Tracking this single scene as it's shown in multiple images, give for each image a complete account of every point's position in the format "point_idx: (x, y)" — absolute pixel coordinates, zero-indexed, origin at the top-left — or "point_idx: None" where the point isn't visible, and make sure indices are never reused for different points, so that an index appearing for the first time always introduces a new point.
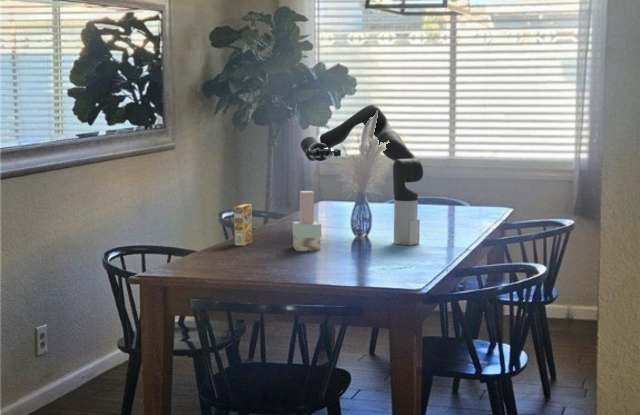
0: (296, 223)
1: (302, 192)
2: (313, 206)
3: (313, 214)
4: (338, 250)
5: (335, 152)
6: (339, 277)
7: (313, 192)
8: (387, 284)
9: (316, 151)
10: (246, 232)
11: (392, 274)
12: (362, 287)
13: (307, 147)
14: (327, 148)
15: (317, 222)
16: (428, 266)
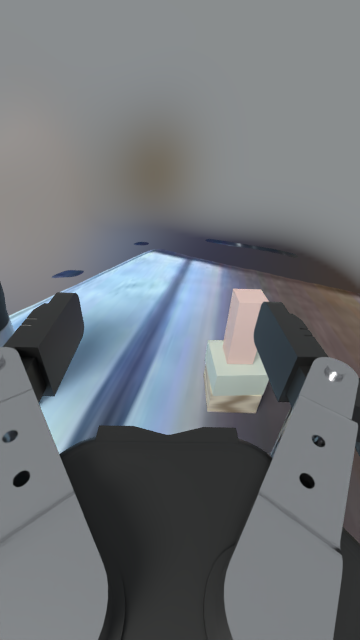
0: (258, 356)
1: (260, 290)
2: (228, 317)
3: (225, 331)
4: (173, 367)
5: (75, 304)
6: (200, 274)
7: (234, 289)
8: (168, 259)
9: (284, 426)
10: None
11: (152, 273)
12: (189, 258)
13: None
14: (9, 529)
15: (213, 358)
16: (102, 285)
